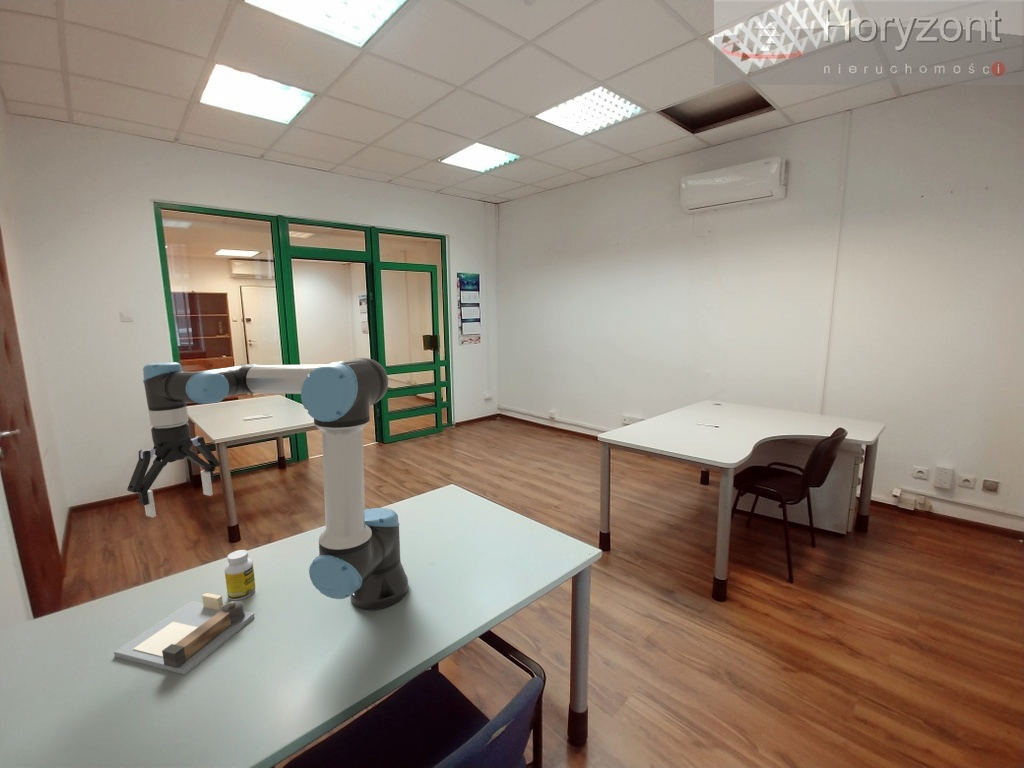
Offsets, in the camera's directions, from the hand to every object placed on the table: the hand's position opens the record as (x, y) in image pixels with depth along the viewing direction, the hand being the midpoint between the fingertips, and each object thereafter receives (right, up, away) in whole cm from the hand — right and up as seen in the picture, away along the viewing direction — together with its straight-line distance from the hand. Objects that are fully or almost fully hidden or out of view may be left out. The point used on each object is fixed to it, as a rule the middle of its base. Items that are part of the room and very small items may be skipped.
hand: (181, 504), depth 113 cm
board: (+9, -29, -9) cm, 31 cm away
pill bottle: (+12, -26, +6) cm, 29 cm away
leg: (+15, -27, -12) cm, 33 cm away
